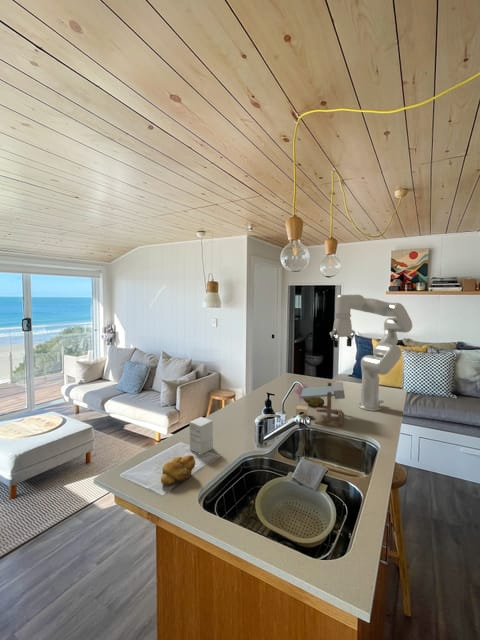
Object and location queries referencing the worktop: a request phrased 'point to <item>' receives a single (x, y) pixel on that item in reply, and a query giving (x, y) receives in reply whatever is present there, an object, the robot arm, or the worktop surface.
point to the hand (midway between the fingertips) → (342, 346)
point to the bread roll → (177, 470)
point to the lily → (300, 390)
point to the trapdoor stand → (329, 411)
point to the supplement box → (201, 435)
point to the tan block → (301, 409)
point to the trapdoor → (324, 391)
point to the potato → (314, 401)
